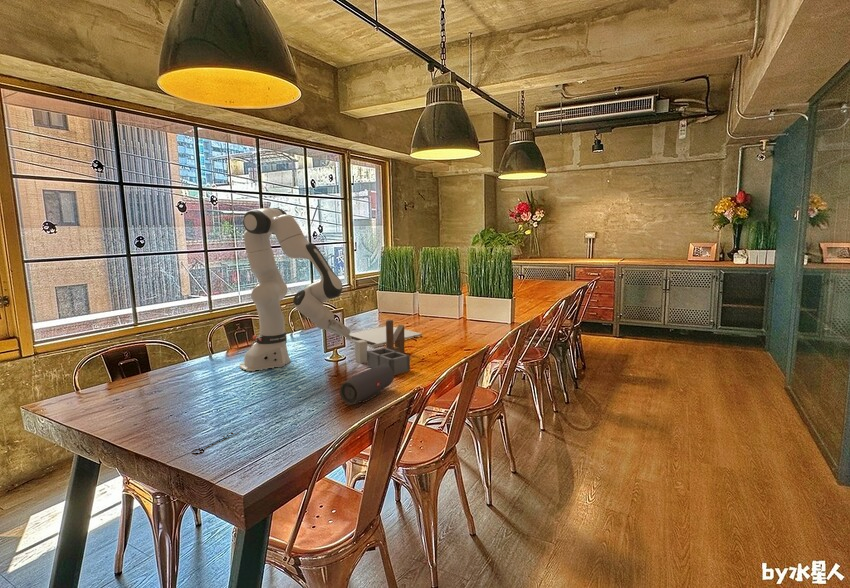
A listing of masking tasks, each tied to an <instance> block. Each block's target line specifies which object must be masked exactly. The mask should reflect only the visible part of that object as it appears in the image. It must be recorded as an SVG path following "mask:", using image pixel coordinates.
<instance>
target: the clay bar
mask: <svg viewBox="0 0 850 588" xmlns="http://www.w3.org/2000/svg"><path fill="white" fill-rule="evenodd" d="M354 347H355V349H354V350H355V353H354V354H355V363H358V364H360V365H361V364H363V363H364V364H365V363H367V351H368V346H367V341H365V340H358V341H355V342H354Z"/></svg>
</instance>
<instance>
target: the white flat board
mask: <svg viewBox="0 0 850 588" xmlns="http://www.w3.org/2000/svg"><path fill="white" fill-rule="evenodd" d="M397 327H398V326H397ZM397 327H395V326H393V334H394V332H395V331H396V329H397ZM349 335H350V336H351V337H352V338H351V340H348V339H345V340H347V341H349V342H352V343H355V341H358V340H365V341H367V347H368V346H369V348H371V347H372V349H375V348H379V347H383V346H382V345H384V346H386V345H385V344H386V325H384V326H379V327H375V328H369V329H365V330H360V331H354V332H350V333H349ZM418 336H422V337H423V333H421V332H418V331H417V332H416V331H413V330H408V329H406V328H404V340H405V339H409V338H413V337H418ZM378 346H379V347H378ZM374 347H375V348H374Z"/></svg>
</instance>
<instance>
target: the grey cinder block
mask: <svg viewBox="0 0 850 588" xmlns="http://www.w3.org/2000/svg"><path fill="white" fill-rule="evenodd" d="M410 358H411V357H410V355H408V354H406V353H400V352H397V351H394V350H391V349H388V348H386V347H380V348H376V349H375V348H374V349H373V350H372V349H371V350H367V362H366V366H367V367H368V368H370V367H371V368H370V369H372V368H374V367H377V366H380V365H387V366H389V367H390V368H391V370H392V371H393V374H394V376H397V375H401V374H404V373H408V372H411V371H410V370H411V365H410V363H411V362H410V360H411V359H410Z"/></svg>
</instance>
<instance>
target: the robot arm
mask: <svg viewBox="0 0 850 588" xmlns="http://www.w3.org/2000/svg"><path fill="white" fill-rule="evenodd" d="M286 212H287V211H285V210H283V209H281V208H277V207H263V208H257V209H250V210H249V211H247V212H245V214H244V215H243V217H242V225H243V227H244V229H245V231H244V234H243V239H244V240H243V241H244V247H245V251H246V255H247V259H248V263H249V267H250V270H251V272H252V273H253V274H254V275H255V277H256V280H257V281H258V284H257V285H256V286H255V287H254V288H253V289H252V291H251V294H250V295H251V300H252V302H253V303H254V305H255V308H256V312H257V315H258V320H259V321H258V322H259V323H258V324H259V334H258V335H256V334H254V335H252V339H253V340H255V341H256V343H255V344H254V345H253V346H251V347H250V348H248V350H247V351H246V352H245V354H244V358H243V359H244V360H243V362H240V363H239V365H238V366H239V369H240V370H242V369H243V370H242V371H244V370H246V371H245V372H249V371H252V372H256V371H255V370H259V371H262V370H261V369H265V370H268V369H267V368H272V369H275V368H274V367H278V368H282V366H284V367H285V366H286V365H288V364H289V363H290V362H291V358H290V356H289V355H290V354H289V351H288V347H287V339H288V337H287V332H286V325H285V315H284V313H283V312H282V307H281V303H280V302H281V301H282V300H283V299H284V298H285V297H286V296H287V293H288V286H287V284H286V283H285V281H284V279H283V277H282V275H281V273H280V271H279V268H278V266H277V263H276V260H275V256H274V252H273V251H274V250H273V248H272V245H271V244H272V243H271V241H270V239H271V236H272V235H274V236H275V237H276V239H277V241H278V244H279V245H280V246H279V247H280V248H281V250H282V251H283V254H285V256H287V257H288V258H292V259H296V260H297V259H298V260H299V259H300V260H301V259H306V260H309V261H310V262H311V263H312V264H313V266H314V268H315V269H316V270H317V272H318V273H319V275H320V279H318V280H316V281H314V282H312V283H310V284H308V285H306V286H305V287H304V288H303V289H299V291H297V292H296V293H295V295H294V296H293V300H292V301H293V303H292V304H293V305H294V307H295V308H296V309H297V311H298V312H299V313H301V314H302V315H303V316H304V317H305V318H307V319H309V320H310V323H312V324H313V325H314V326H316V327H317V328H318V329H320V330H323V329H325V330H327V331H326V332H328V333H331V334H334V335H335V336H336V337H341V336H344V337H346V339H348V340H347V341H349V340H351V338H352V337H351V336H350V335H349V333H352V332H351V330H350V328H348V327H347V326H346V325H345V324H344V323H343V322H341V321H339V320H336V319H335V314H334V312H332V311H331V310H330V308H328V307H327V306H325V305H324V303H325V302H328V301H329V300H332V299H335V298H338V297H339V296H340V295H342V291H343V283H342V281H341V279H340V278H339V276H338V275H337V274H336V273H335V272H334V270H333V269H332V268H331V266H330V264H329V263H328V261H327V260H326V259H325V256H324V254H322V253H321V251H320V249H319V248H318V247H317V245H315V244H314V243H313V242H310V241H309V240H308V239H307V238H306V237H305V234H304V233H303V231H302V229H301V227H300V225H299V224H298V222H297V221H296V219H295V218H294V216H292V215H291V214H287V213H286ZM325 330H324V331H325ZM346 339H345V340H346ZM285 364H286V365H285Z"/></svg>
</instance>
